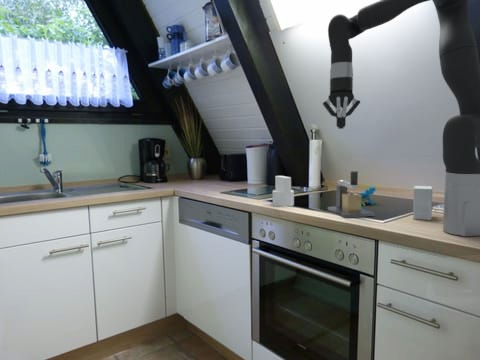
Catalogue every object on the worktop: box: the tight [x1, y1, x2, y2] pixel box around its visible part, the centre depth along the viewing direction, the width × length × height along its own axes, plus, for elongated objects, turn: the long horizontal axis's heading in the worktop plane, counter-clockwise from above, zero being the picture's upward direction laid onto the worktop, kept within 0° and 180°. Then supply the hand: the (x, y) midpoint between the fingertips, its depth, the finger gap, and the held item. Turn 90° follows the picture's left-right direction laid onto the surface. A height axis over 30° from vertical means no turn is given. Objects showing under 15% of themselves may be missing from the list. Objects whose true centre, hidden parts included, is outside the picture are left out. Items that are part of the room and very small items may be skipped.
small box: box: [412, 185, 433, 221], centre depth 121 cm, size 8×6×10 cm
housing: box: [342, 190, 362, 212], centre depth 130 cm, size 5×5×7 cm
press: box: [327, 184, 375, 219], centre depth 132 cm, size 16×11×9 cm
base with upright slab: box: [272, 175, 295, 207], centre depth 151 cm, size 9×9×12 cm
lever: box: [337, 170, 359, 190], centre depth 131 cm, size 15×3×6 cm, turn 4°
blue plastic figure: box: [359, 186, 377, 207], centre depth 147 cm, size 11×6×10 cm
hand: (340, 128), depth 124 cm, fingers closed
